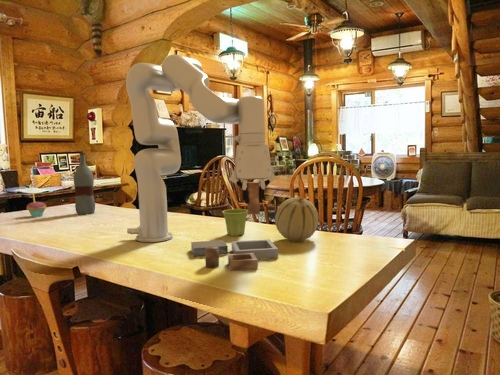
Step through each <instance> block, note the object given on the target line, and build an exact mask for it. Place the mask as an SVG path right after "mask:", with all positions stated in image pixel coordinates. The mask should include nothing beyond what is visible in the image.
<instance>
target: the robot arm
mask: <svg viewBox="0 0 500 375" xmlns="http://www.w3.org/2000/svg"><path fill="white" fill-rule="evenodd" d="M125 80H126V81H125V87H126V93H127V96H128V99H129V102H130V107H131V116H132V123H133V124H132V125H133V131H134V136H135V140H136V141H137V142H138V144H140V145H145V146H158V148H145V149H141V150H140V151H138V152H137V153H136V154H135V156H134V158H133V167H134V170H135V175H136V180H137V191H138V192H137V193H138V208H139V209H138V211H139V226H137V227H136V228H135V227H134V228H133V227H130V228H127V229H126V230H127V231H126V232H127V234H128V235H136V236H135V240H136V241H137V242H141V243H157V242H163V241H164V242H165V241H167V240H172V239H173V233H172V232H169V227H168V226H169V225H168V200H167V185H166V184H165V181H164V180H163V177H162V176H168V175H174V174H176V173H177V172H178V171H179V170H180V168H181V165H182V156H181V146H180V140H179V134H178V129H177V126H176V125H175V123H174V122H173V121H172V120H170V119H168V118H162V117H161V118H160V117H159V114H158V109H157V102H156V101H155V99H154V97H153V95H152V94H151V92H150V90H152V91H158V92H165V93H166V92H167V93H169V92H170V93H171V92H175V91H179V90H181V91H182V92H184V93H185V94H186V95H187V96H188V98H189V102H190V104H191V106H192V107H193V108H194V109H195V110H196V111H197V112H198V113H199V114H200V115H202V116H203V117H204V118H205V119H206V120H209V122H212V123H214V124H215V123H216V124H228V125H238V135H235V136H233V141H234V142H238V145H236V150H235V159H234V160H235V162H234V170H233V172H232V173H231V176H230V177H229V181H230V182H232V183H233V184H236V185H237V186H238V187H239V188H240V189H241V192H242V193H241V194H242V195H241V196H242V197H241V199H242V201H243V202H244V203H245V204H246V205H247V204H248V190H247V183H248V180H249V181H250V180H258V182H259V199H260V204H263V202H264V200H265V189H266V187H268V185H269V184H271V183H272V182H274V181H275V180H277V177H276V176H275V173H274V172H273V170H272V166H271V155H270V147H269V144H266V132H265V131H266V127H265V126H266V124H265V123H266V122H265V121H266V120H265V119H266V118H265V117H266V116H265V100H264V98H263V97H261V96H259V95H258V96H257V95H247V96H241V97H240V98H231V97H226V96H220V95H218V94H216V93H215V92H214V91H212V90H211V89H210V88H209V87H210V83H211V82H210V78H209V76H208V75H207V74H206V73H205V72H204V69H203V67H202V64H201V63H200V62H199V61H198V60H197V59H195V58H191V57H189V56H186V55H185V56H184V55H180V54H170V55H167V56H166V57H165V58H164V59H163V60H162V62H161V65H160V64H155V63H149V62H138V63H135V64H133V65H132V66H131V67H130V68H129V69H128V71H127V75H126V78H125ZM240 180H241V181H240Z"/></svg>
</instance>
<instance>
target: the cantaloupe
mask: <svg viewBox="0 0 500 375" xmlns="http://www.w3.org/2000/svg"><path fill="white" fill-rule="evenodd" d="M274 216H275V217H274V218H275V220H274V222H275V227H276V230H277V231H278V233H279V234H280V235H281V236H282V237H283V238H284V239H287V240H290V241H294V242H303V241H305V240H308V239H310V238H311V237H312V236H313V235H314V234H315V232H316V230H317V228H318V224H319V220H320V219H319V213H318V210H317V208H316V207H315V204H313V203H312V202H311V201H310V200H308V199H306V198H304V197H303V196H302V197H290V198H288V199H286V200H284V201H283V202H281V204H280V205H279V206H278V208H277V209H276V211H275V215H274Z"/></svg>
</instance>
